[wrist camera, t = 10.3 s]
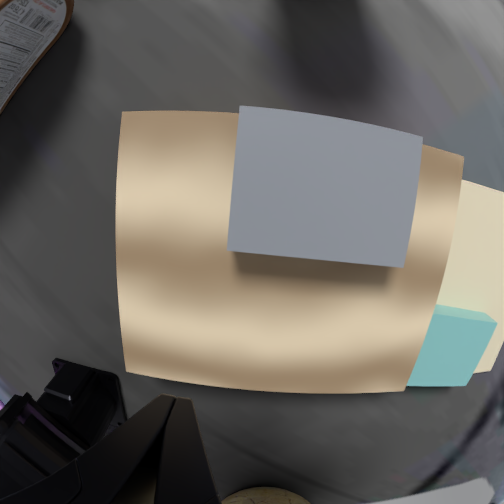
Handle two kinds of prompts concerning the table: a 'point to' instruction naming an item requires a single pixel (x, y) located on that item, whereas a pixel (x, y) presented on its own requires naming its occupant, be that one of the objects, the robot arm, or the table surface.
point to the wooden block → (260, 274)
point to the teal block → (452, 347)
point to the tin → (27, 38)
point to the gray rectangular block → (322, 188)
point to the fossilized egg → (264, 497)
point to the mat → (478, 262)
